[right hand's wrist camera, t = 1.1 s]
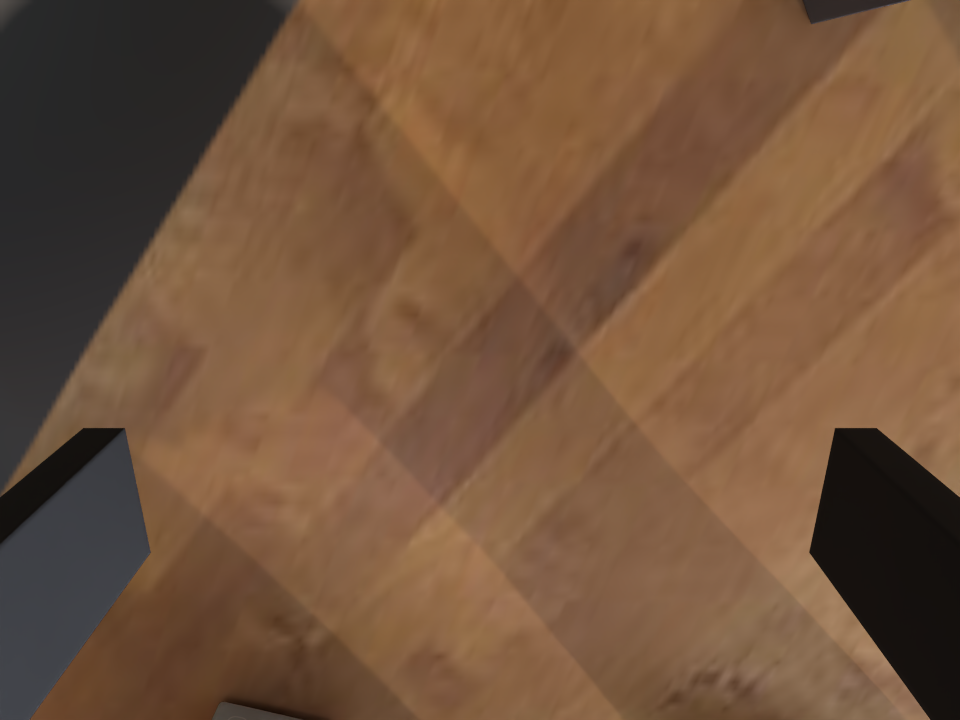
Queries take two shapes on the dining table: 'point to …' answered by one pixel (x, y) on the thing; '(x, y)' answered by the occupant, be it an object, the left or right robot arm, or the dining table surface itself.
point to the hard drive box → (245, 713)
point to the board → (841, 8)
